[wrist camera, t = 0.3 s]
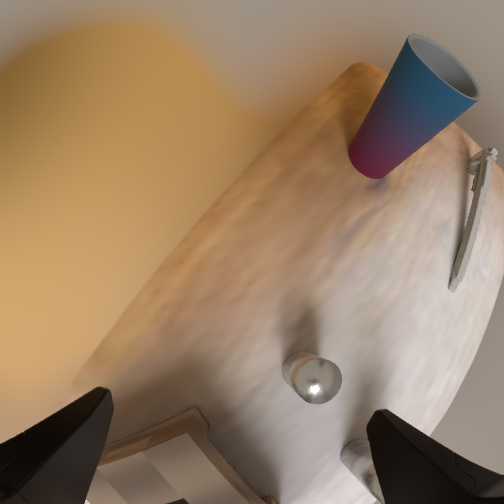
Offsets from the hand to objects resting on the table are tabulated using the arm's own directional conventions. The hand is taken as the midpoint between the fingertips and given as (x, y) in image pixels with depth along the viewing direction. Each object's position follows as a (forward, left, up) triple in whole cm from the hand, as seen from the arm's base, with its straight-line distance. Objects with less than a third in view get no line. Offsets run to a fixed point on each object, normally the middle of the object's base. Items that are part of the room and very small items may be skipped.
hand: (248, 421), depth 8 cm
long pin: (-15, -4, -14) cm, 21 cm away
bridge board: (-9, +11, -14) cm, 20 cm away
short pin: (-4, -4, -14) cm, 15 cm away
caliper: (-3, -31, -15) cm, 35 cm away
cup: (+9, -22, -15) cm, 28 cm away
